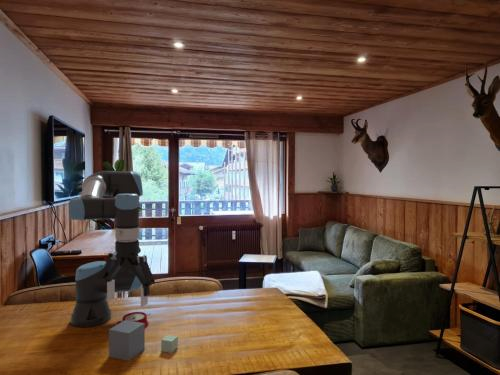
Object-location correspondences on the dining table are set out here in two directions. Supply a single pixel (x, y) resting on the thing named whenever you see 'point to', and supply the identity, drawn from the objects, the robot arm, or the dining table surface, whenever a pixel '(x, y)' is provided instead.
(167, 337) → the block
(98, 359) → the dining table surface
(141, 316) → the alarm clock
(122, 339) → the grey matte cube
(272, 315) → the dining table surface
